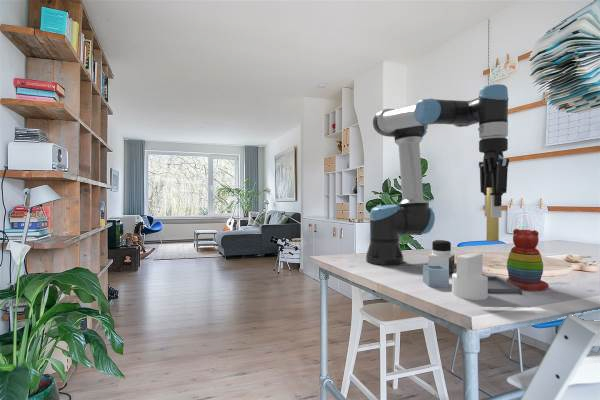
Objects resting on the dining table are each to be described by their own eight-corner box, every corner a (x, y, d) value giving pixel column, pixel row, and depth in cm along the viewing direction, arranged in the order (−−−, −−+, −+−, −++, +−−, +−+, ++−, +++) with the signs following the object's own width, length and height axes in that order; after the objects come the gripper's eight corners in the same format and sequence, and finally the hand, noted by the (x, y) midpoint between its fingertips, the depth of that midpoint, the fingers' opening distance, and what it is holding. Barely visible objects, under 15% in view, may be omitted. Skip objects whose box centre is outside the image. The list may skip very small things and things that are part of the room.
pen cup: (422, 283, 111) (422, 265, 111) (441, 283, 111) (441, 265, 110) (428, 289, 105) (428, 269, 105) (448, 289, 105) (449, 269, 105)
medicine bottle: (449, 277, 118) (449, 242, 117) (427, 274, 122) (428, 241, 121) (454, 273, 123) (454, 240, 123) (433, 270, 127) (434, 238, 127)
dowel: (495, 239, 106) (495, 187, 105) (500, 241, 102) (501, 187, 102) (484, 239, 106) (484, 187, 105) (489, 241, 103) (489, 187, 102)
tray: (464, 281, 112) (464, 275, 112) (496, 282, 112) (496, 276, 112) (485, 295, 98) (485, 288, 98) (521, 295, 98) (521, 288, 98)
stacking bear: (550, 287, 106) (551, 229, 105) (541, 294, 99) (542, 232, 98) (510, 280, 114) (511, 226, 113) (499, 286, 107) (500, 229, 106)
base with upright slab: (462, 290, 103) (462, 250, 103) (493, 298, 96) (494, 255, 96) (445, 296, 98) (445, 254, 97) (477, 305, 91) (478, 259, 90)
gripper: (468, 142, 111) (468, 215, 112) (493, 134, 95) (493, 219, 96) (492, 142, 111) (492, 214, 112) (522, 133, 95) (521, 219, 96)
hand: (492, 216), depth 104 cm, fingers closed on dowel, 3 cm apart
